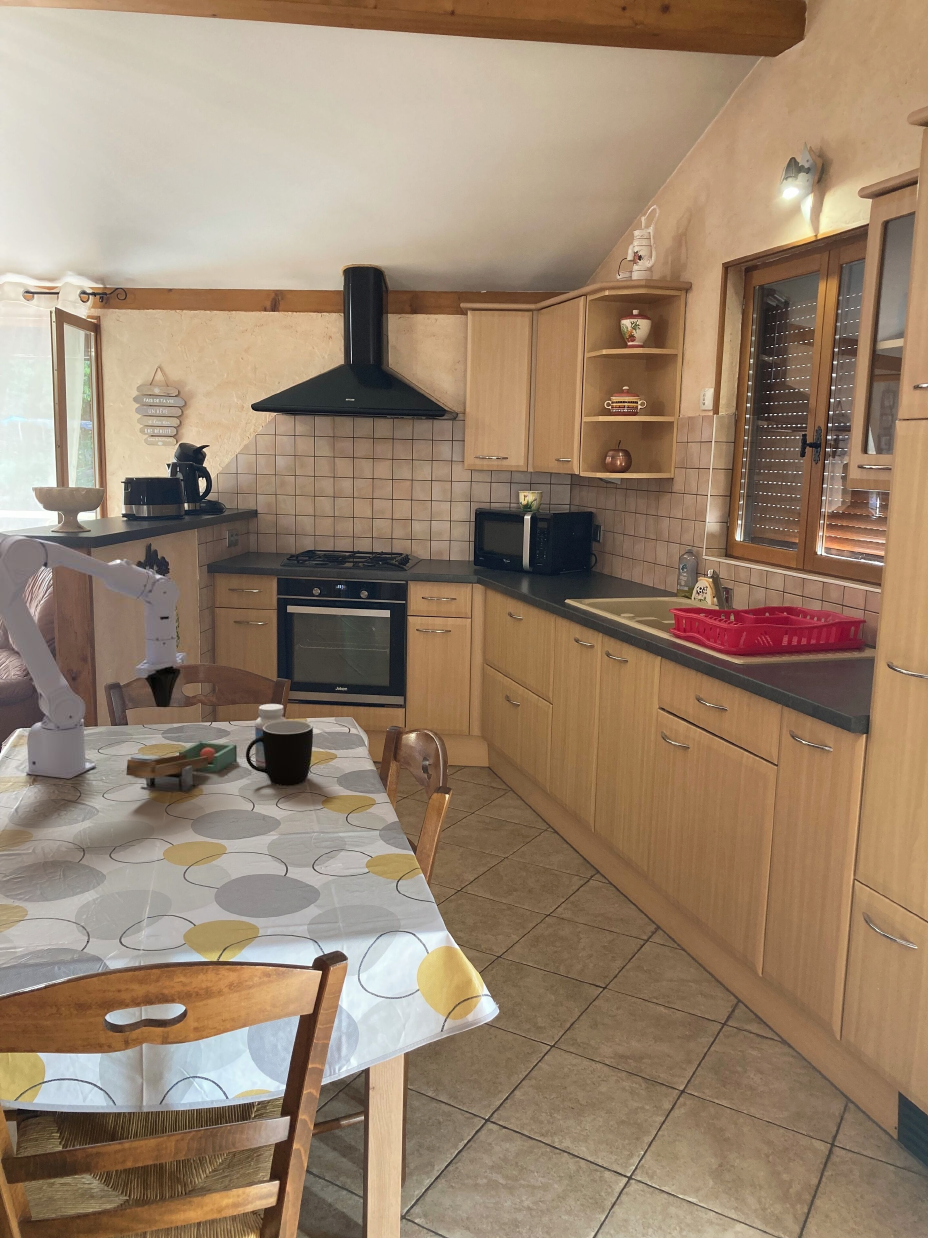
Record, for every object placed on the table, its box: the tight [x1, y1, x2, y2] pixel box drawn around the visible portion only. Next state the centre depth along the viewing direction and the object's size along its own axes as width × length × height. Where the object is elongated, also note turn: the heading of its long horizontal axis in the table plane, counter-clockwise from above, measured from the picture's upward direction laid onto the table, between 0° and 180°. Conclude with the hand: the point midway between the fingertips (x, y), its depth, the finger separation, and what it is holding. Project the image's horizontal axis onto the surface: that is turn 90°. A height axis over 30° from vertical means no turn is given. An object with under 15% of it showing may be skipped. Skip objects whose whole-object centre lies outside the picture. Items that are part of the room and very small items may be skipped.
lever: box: [126, 754, 208, 778], centre depth 167 cm, size 14×18×3 cm
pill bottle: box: [254, 703, 287, 768], centre depth 181 cm, size 6×6×11 cm
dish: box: [178, 740, 238, 773], centre depth 180 cm, size 8×7×3 cm
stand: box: [140, 766, 199, 794], centre depth 167 cm, size 9×4×4 cm, turn 75°
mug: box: [245, 719, 314, 787], centre depth 171 cm, size 12×9×10 cm
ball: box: [200, 748, 216, 764], centre depth 179 cm, size 3×3×3 cm
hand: (162, 706), depth 183 cm, fingers closed
